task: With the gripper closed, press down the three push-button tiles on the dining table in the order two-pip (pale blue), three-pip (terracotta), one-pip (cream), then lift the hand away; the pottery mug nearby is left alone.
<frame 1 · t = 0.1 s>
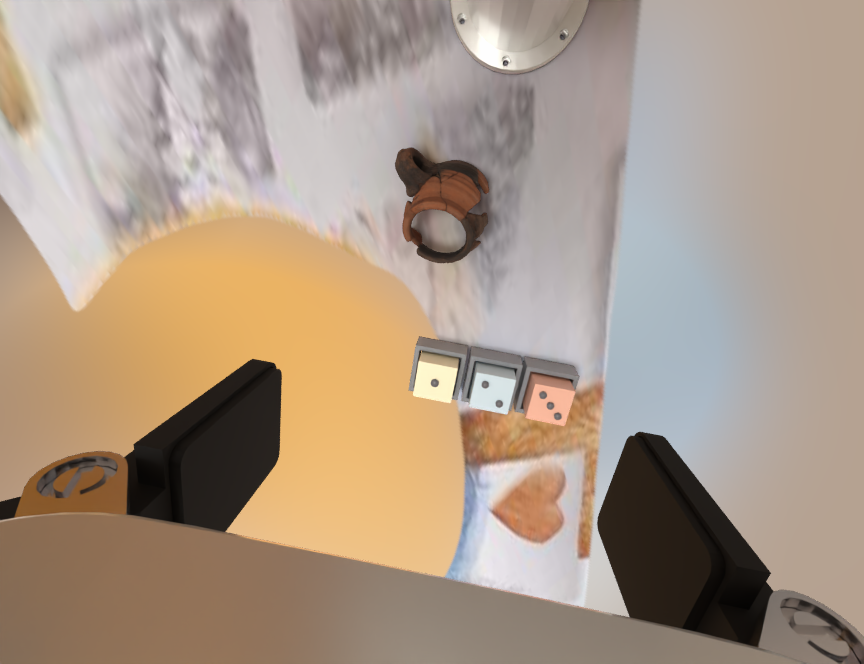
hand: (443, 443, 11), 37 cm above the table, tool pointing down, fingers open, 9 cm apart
button three: (547, 397, 46), point 4 cm above the table, slide at 0.0 cm
button one: (436, 375, 46), point 4 cm above the table, slide at 0.0 cm
button two: (491, 386, 46), point 4 cm above the table, slide at 0.0 cm
pottery mug: (442, 200, 44), on the table
tile one base: (439, 363, 50), on the table
tile two base: (490, 373, 50), on the table
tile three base: (542, 383, 49), on the table
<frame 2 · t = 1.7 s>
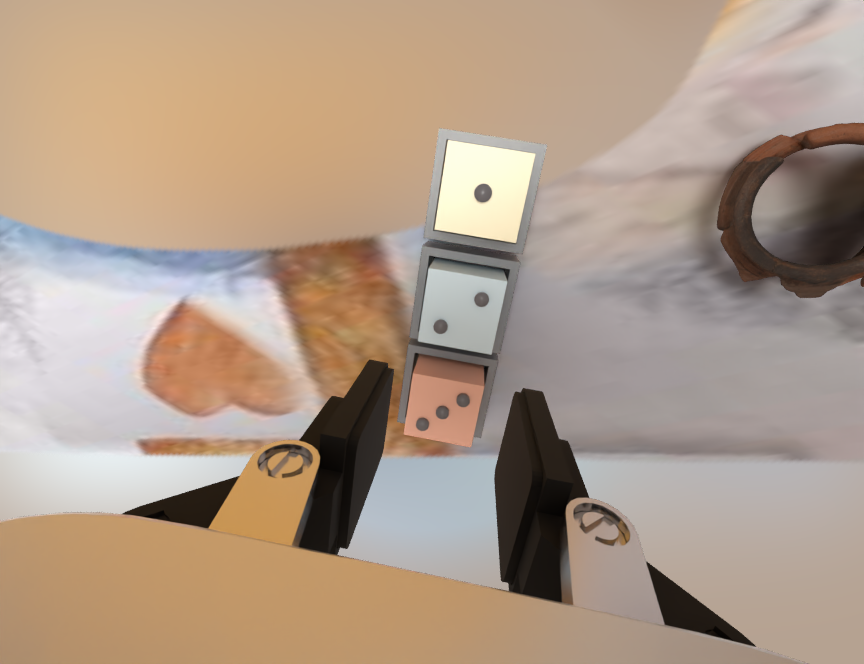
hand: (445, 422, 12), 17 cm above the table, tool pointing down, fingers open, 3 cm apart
button three: (444, 397, 27), point 4 cm above the table, slide at 0.0 cm
button one: (482, 193, 22), point 4 cm above the table, slide at 0.0 cm
button two: (462, 304, 24), point 4 cm above the table, slide at 0.0 cm
pottery mug: (803, 202, 24), on the table
tile one base: (481, 193, 26), on the table
tile two base: (463, 291, 28), on the table
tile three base: (448, 374, 30), on the table
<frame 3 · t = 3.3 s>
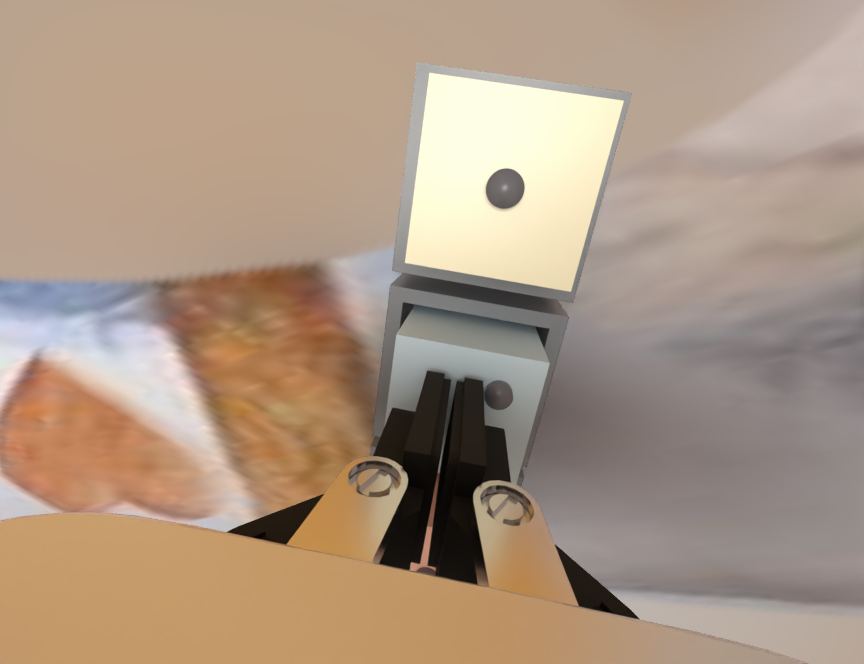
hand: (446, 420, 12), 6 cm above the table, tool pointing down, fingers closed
button three: (432, 534, 16), point 4 cm above the table, slide at 0.0 cm
button one: (501, 190, 11), point 4 cm above the table, slide at 0.0 cm
button two: (461, 387, 14), point 4 cm above the table, slide at 0.1 cm, touching gripper
tile one base: (496, 191, 15), on the table
tile two base: (465, 350, 17), on the table
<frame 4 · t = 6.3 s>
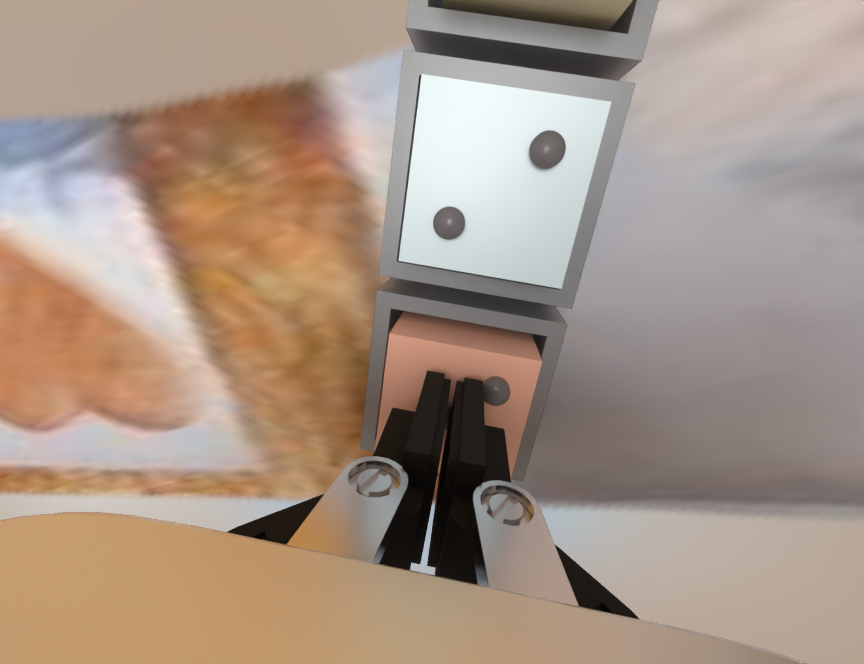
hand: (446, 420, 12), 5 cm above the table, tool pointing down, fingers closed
button three: (455, 386, 14), point 3 cm above the table, slide at 1.0 cm, touching gripper
button two: (493, 189, 12), point 3 cm above the table, slide at 1.1 cm
tile two base: (490, 190, 14), on the table
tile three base: (458, 357, 16), on the table
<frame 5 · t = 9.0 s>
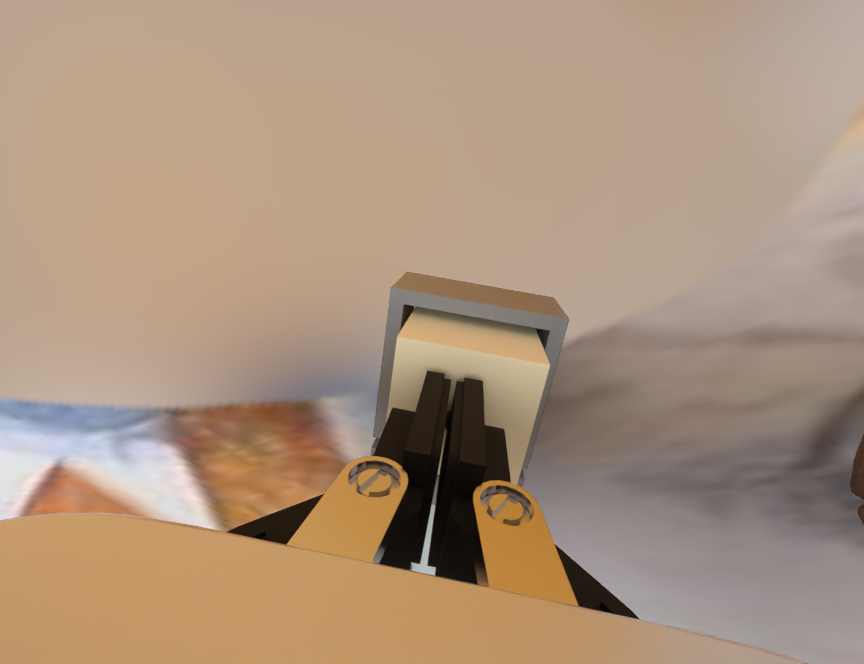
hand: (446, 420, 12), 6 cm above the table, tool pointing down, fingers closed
button one: (462, 389, 14), point 4 cm above the table, slide at 0.2 cm, touching gripper
button two: (436, 515, 17), point 3 cm above the table, slide at 1.1 cm
tile one base: (466, 352, 17), on the table
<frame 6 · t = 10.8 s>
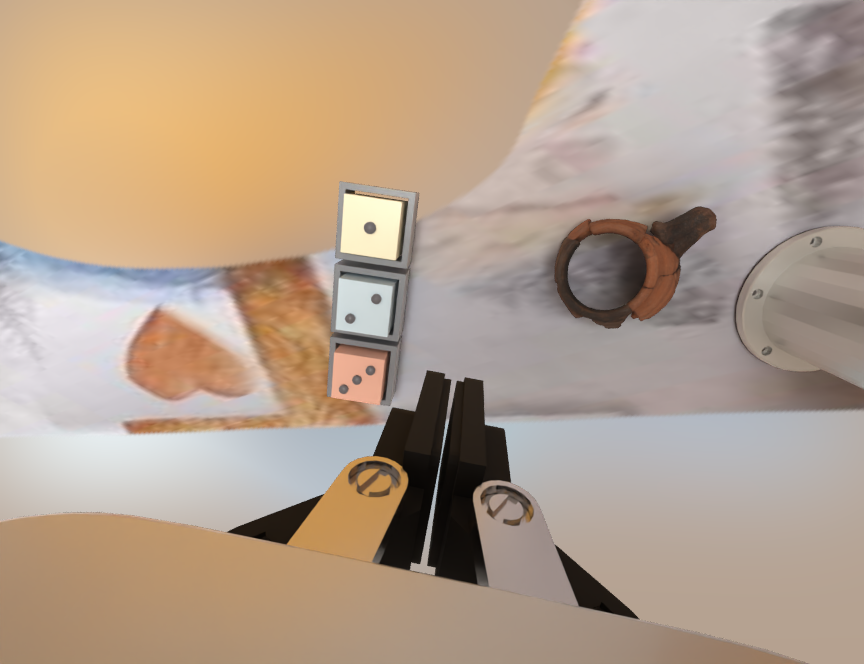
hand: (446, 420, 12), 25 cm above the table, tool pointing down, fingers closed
button three: (362, 370, 37), point 3 cm above the table, slide at 1.1 cm
button one: (375, 226, 32), point 3 cm above the table, slide at 1.1 cm
button two: (368, 302, 34), point 3 cm above the table, slide at 1.1 cm
pottery mug: (617, 258, 35), on the table
tile one base: (381, 223, 35), on the table
tile two base: (374, 295, 37), on the table
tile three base: (368, 359, 39), on the table
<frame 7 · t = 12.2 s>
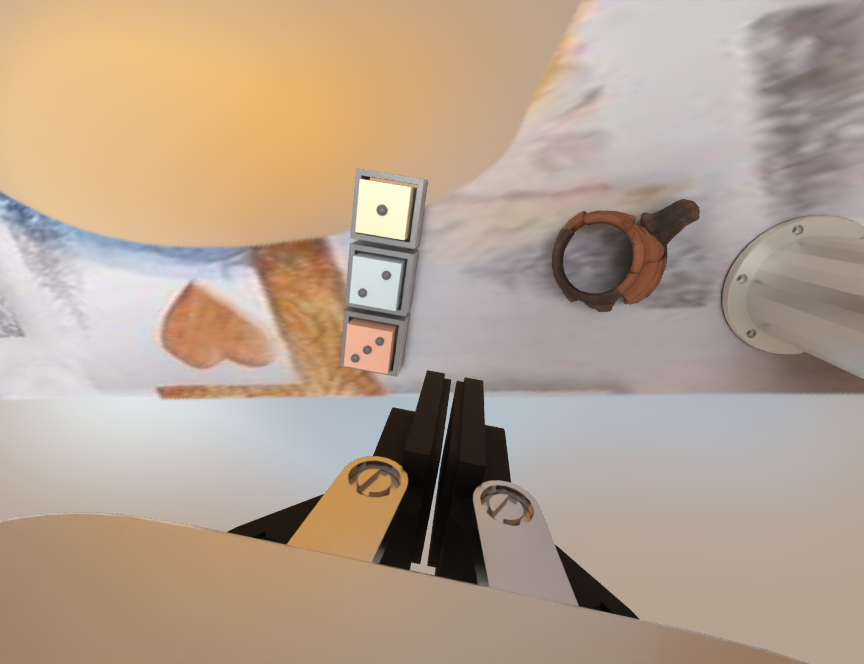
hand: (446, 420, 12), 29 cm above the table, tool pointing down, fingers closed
button three: (372, 342, 40), point 3 cm above the table, slide at 1.1 cm
button one: (387, 209, 36), point 3 cm above the table, slide at 1.1 cm
button two: (379, 279, 38), point 3 cm above the table, slide at 1.1 cm
pottery mug: (612, 248, 38), on the table
tile one base: (392, 208, 38), on the table
tile two base: (385, 274, 40), on the table
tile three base: (378, 334, 43), on the table
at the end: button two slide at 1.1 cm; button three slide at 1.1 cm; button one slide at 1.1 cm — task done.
